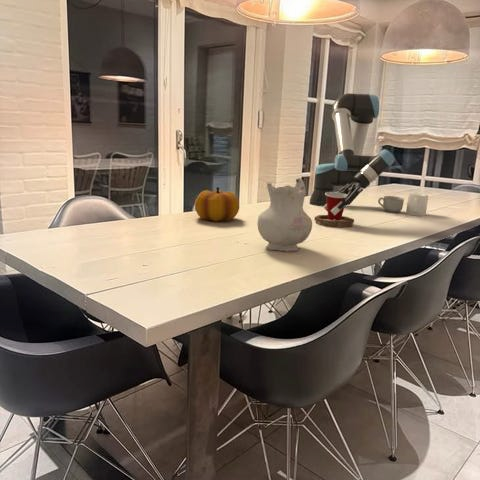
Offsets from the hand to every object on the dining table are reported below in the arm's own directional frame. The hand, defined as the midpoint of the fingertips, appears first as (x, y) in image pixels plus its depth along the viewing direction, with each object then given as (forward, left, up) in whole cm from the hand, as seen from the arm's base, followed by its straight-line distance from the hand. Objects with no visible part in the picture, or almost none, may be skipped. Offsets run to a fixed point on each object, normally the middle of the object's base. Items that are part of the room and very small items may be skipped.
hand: (328, 211), depth 220 cm
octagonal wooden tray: (0, +3, -6) cm, 7 cm away
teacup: (-28, +54, -6) cm, 61 cm away
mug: (-19, +64, -6) cm, 67 cm away
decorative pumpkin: (-16, -49, -6) cm, 52 cm away
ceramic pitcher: (+37, -39, -6) cm, 54 cm away
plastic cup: (+1, +3, -4) cm, 5 cm away
